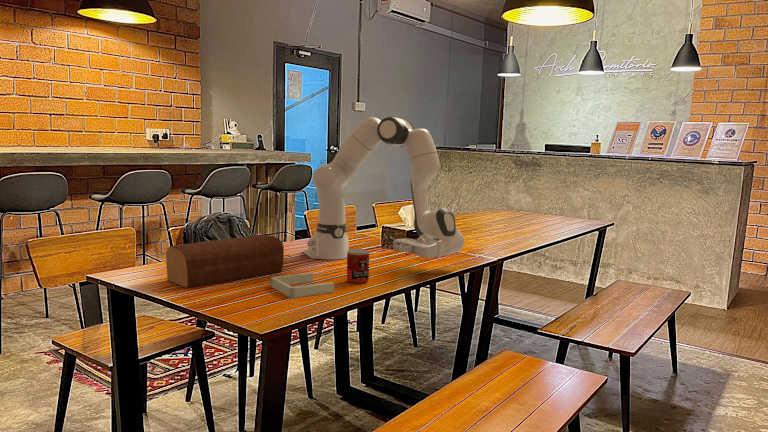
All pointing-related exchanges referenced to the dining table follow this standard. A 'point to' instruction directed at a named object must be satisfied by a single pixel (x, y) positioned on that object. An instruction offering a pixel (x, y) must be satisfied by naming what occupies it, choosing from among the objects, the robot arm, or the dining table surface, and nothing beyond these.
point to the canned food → (357, 266)
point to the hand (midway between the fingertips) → (397, 249)
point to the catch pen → (285, 281)
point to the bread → (223, 260)
